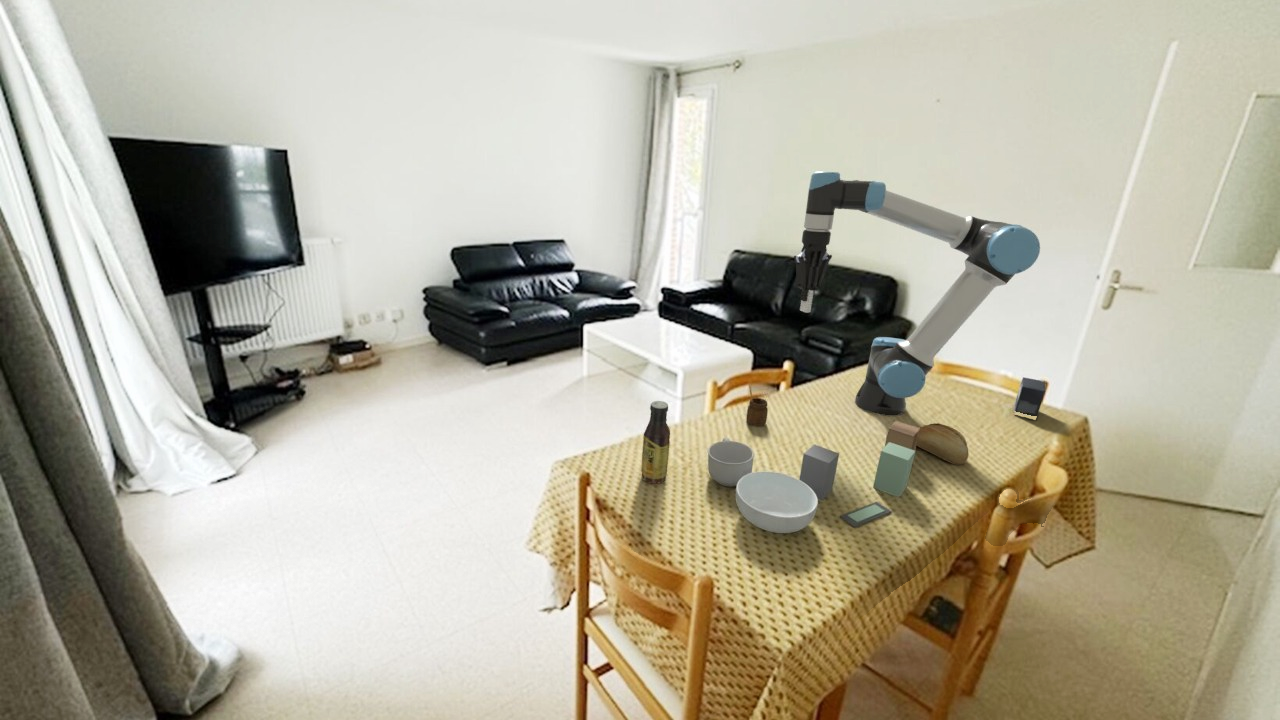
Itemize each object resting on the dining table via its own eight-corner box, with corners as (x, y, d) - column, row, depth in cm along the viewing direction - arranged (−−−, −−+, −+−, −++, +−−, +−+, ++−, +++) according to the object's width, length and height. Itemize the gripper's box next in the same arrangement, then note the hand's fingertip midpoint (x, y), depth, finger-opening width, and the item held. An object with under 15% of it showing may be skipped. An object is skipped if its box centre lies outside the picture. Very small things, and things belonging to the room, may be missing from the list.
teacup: (750, 495, 121) (754, 465, 118) (703, 488, 123) (706, 458, 120) (750, 464, 134) (754, 437, 131) (708, 458, 136) (710, 431, 133)
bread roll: (919, 438, 152) (925, 413, 149) (974, 461, 140) (981, 434, 137) (901, 446, 146) (907, 420, 144) (956, 471, 135) (964, 443, 132)
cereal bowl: (763, 554, 102) (767, 524, 100) (718, 506, 116) (721, 479, 114) (830, 534, 109) (836, 505, 106) (780, 491, 123) (784, 465, 121)
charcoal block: (808, 480, 128) (814, 444, 124) (832, 490, 124) (839, 453, 121) (797, 490, 123) (803, 453, 120) (822, 501, 120) (829, 463, 116)
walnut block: (888, 453, 142) (895, 420, 138) (911, 462, 138) (920, 428, 135) (881, 462, 137) (888, 428, 134) (905, 470, 134) (913, 436, 130)
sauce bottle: (636, 473, 128) (640, 399, 121) (660, 469, 130) (664, 396, 123) (647, 488, 122) (651, 411, 115) (671, 482, 124) (676, 407, 118)
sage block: (881, 477, 130) (889, 442, 127) (906, 487, 127) (915, 450, 123) (873, 487, 126) (881, 450, 123) (899, 497, 122) (908, 460, 119)
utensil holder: (768, 427, 154) (773, 390, 150) (746, 426, 154) (751, 389, 150) (764, 418, 159) (768, 382, 155) (743, 417, 159) (747, 381, 155)
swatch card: (876, 503, 120) (876, 500, 120) (891, 512, 117) (891, 510, 116) (839, 517, 114) (840, 515, 114) (854, 528, 111) (855, 525, 111)
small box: (1013, 404, 177) (1022, 376, 173) (1036, 410, 173) (1046, 381, 170) (1012, 415, 169) (1021, 385, 165) (1036, 421, 165) (1046, 390, 162)
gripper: (823, 228, 153) (811, 306, 161) (790, 228, 147) (779, 310, 155) (843, 231, 147) (830, 312, 155) (810, 231, 141) (798, 316, 149)
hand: (805, 311), depth 155 cm, fingers closed
